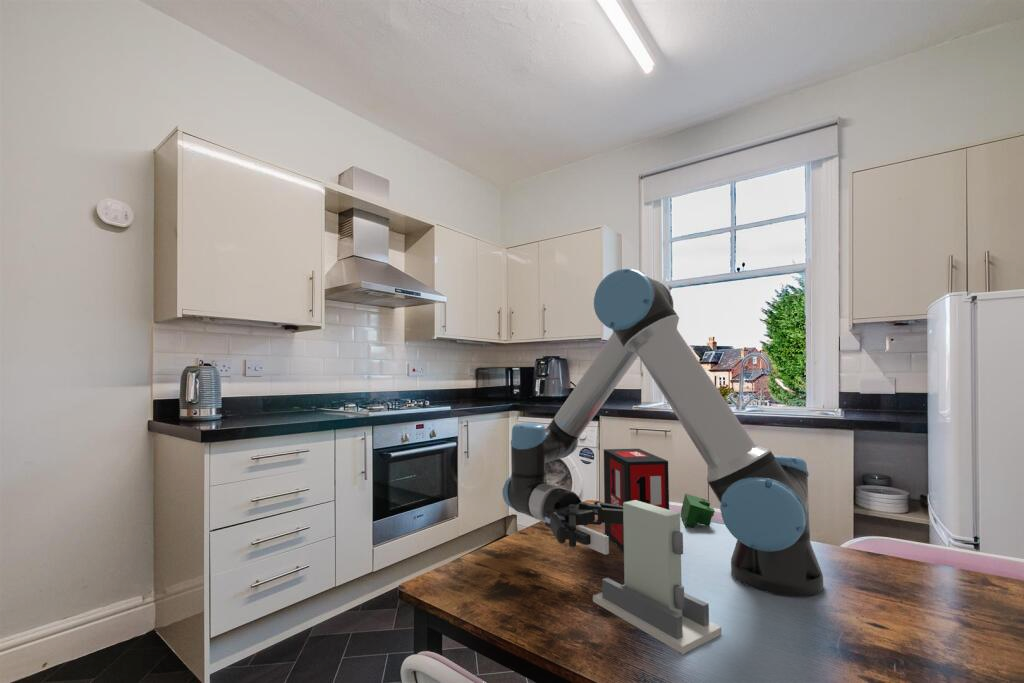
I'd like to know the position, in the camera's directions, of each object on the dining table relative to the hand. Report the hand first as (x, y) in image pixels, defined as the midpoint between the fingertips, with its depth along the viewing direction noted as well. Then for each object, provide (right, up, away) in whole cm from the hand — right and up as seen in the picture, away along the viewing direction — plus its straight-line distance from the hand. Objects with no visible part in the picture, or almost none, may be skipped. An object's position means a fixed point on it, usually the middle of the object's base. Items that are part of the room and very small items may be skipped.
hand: (637, 537), depth 78 cm
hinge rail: (+2, -11, -3) cm, 12 cm away
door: (+2, -10, -3) cm, 11 cm away
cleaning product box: (+7, -14, +29) cm, 33 cm away
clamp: (+27, -15, +45) cm, 54 cm away
